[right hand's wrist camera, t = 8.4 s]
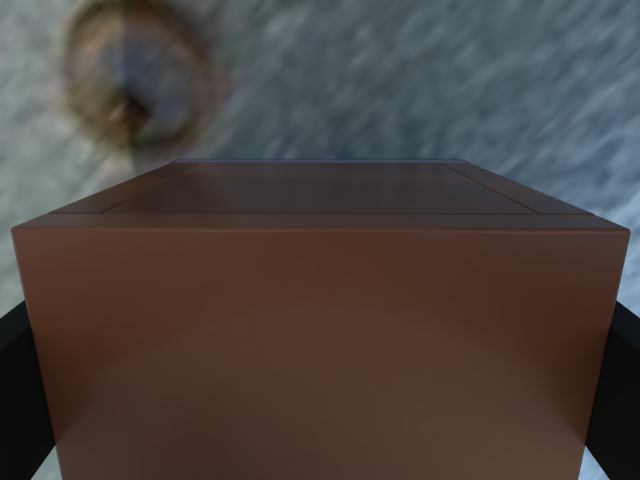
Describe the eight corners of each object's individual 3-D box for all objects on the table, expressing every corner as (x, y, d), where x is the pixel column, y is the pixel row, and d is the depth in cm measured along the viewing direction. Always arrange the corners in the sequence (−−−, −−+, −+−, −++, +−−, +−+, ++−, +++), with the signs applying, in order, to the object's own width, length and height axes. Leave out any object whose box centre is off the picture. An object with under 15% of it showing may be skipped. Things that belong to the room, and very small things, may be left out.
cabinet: (429, 513, 22) (508, 812, 13) (209, 513, 22) (129, 810, 13) (463, 159, 17) (634, 228, 8) (177, 159, 17) (7, 226, 8)
